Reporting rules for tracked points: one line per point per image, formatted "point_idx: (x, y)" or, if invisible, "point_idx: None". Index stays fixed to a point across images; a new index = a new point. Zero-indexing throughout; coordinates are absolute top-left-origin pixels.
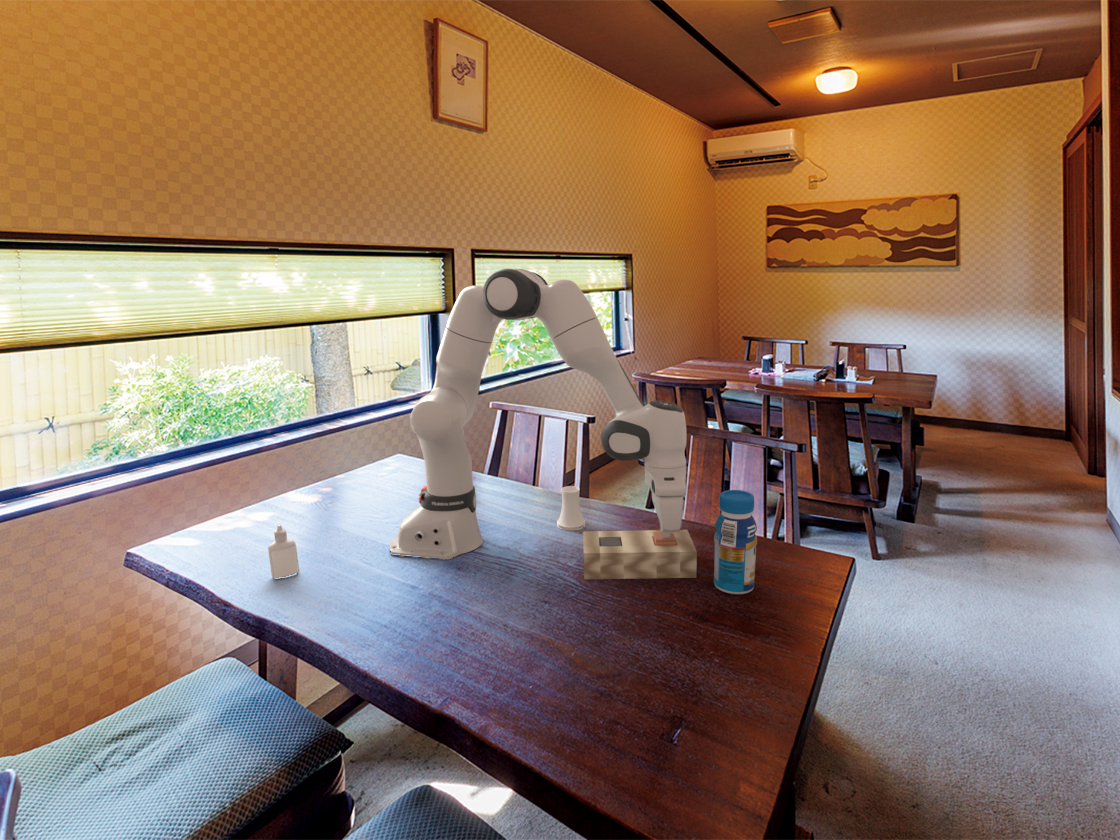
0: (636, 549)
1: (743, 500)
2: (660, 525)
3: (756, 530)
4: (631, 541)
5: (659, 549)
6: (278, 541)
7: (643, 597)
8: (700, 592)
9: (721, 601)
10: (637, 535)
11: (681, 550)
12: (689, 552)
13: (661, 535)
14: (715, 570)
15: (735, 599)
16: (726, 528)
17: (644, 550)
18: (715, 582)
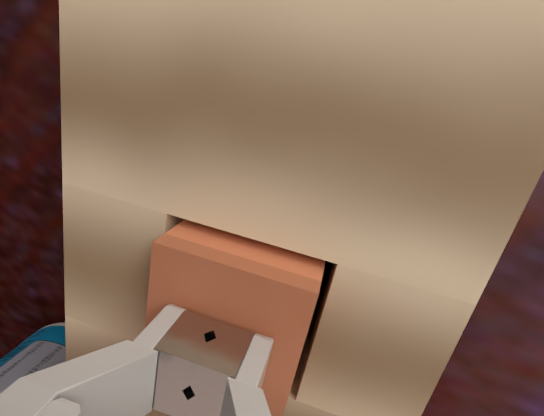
0: (111, 45)
1: None
2: (231, 385)
3: None
4: (278, 47)
5: (102, 218)
6: None
7: (15, 35)
8: (53, 262)
9: (4, 291)
10: (398, 151)
11: (82, 330)
12: (69, 354)
13: (226, 317)
14: (32, 366)
15: (16, 331)
16: None
17: (91, 106)
18: (61, 332)
